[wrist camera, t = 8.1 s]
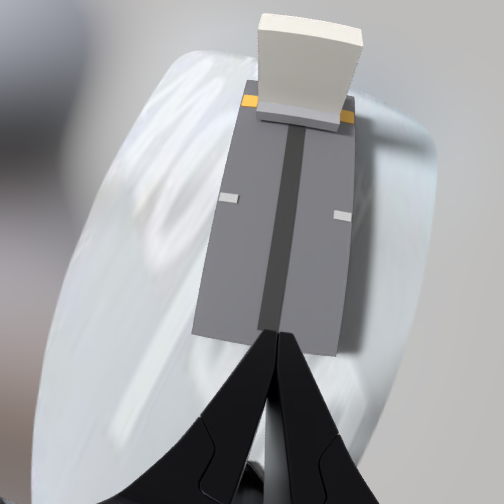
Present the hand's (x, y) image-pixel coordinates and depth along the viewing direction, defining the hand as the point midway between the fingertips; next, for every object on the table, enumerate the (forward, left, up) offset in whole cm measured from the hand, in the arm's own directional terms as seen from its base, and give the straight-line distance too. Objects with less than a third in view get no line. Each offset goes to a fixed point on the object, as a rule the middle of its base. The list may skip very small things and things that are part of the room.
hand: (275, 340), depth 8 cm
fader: (+13, -11, -10) cm, 19 cm away
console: (+7, -6, -12) cm, 15 cm away
